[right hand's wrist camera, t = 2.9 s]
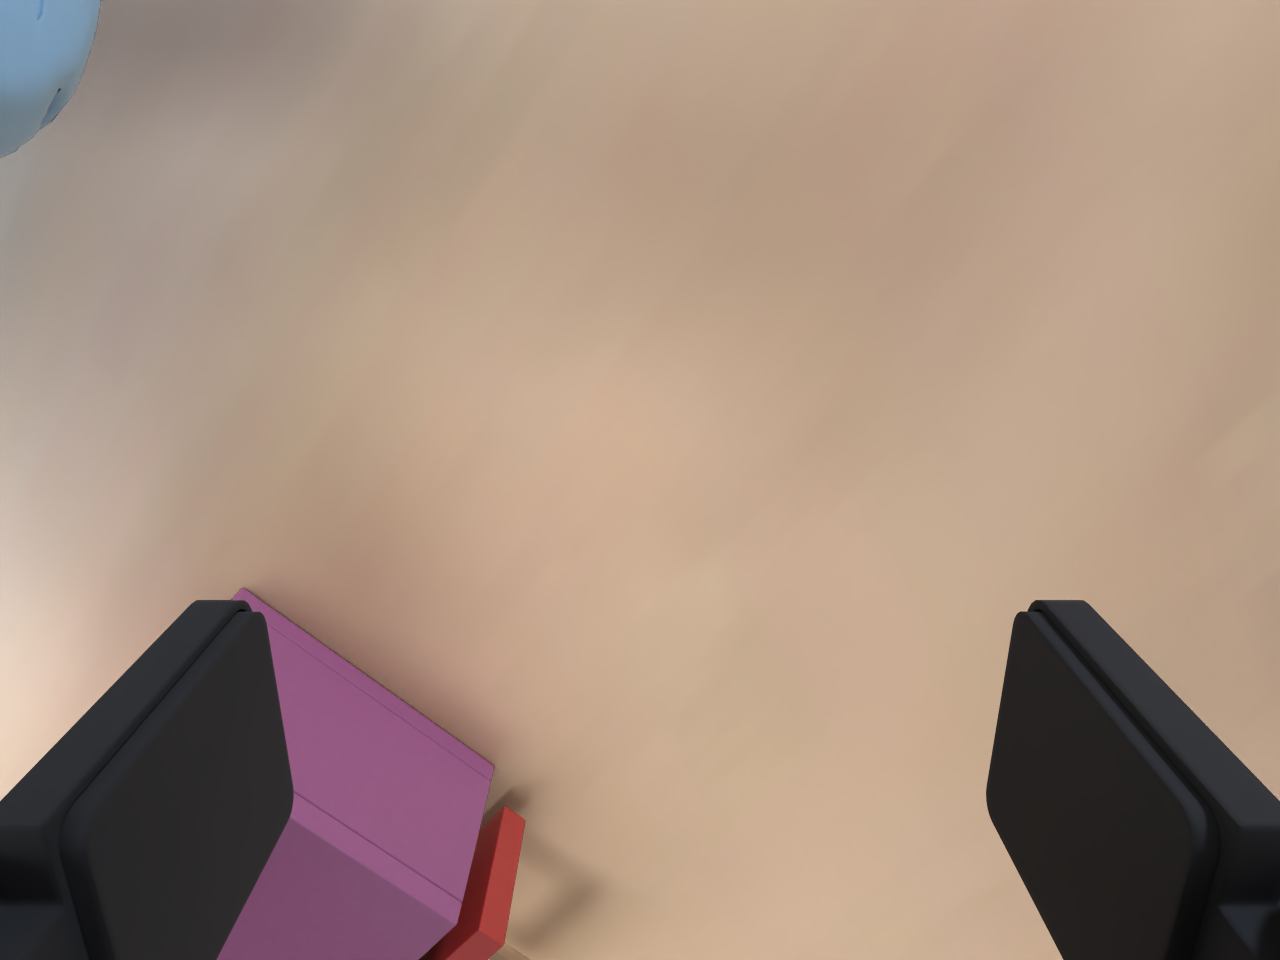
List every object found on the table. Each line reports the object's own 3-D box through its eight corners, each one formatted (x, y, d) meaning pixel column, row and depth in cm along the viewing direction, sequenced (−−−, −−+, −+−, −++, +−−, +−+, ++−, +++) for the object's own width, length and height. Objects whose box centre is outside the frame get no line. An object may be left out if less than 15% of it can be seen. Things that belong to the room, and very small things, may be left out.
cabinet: (495, 766, 40) (458, 925, 32) (350, 907, 43) (283, 1085, 35) (242, 586, 37) (130, 712, 29) (105, 751, 40) (-33, 907, 32)
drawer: (624, 888, 41) (620, 1021, 35) (490, 1004, 43) (465, 1147, 37) (301, 662, 37) (232, 767, 31) (174, 805, 39) (87, 929, 33)
